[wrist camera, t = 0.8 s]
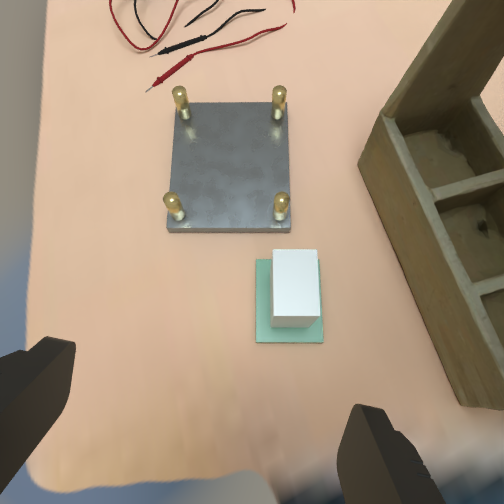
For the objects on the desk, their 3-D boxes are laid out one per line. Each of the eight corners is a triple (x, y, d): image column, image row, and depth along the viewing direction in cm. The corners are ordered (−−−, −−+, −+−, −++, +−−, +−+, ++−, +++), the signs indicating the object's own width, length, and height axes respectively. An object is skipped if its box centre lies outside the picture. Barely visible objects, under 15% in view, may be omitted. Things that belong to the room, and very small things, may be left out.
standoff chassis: (286, 110, 50) (289, 79, 45) (289, 232, 45) (293, 213, 40) (178, 110, 50) (169, 79, 45) (169, 232, 45) (158, 213, 40)
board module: (317, 262, 44) (332, 233, 36) (321, 343, 41) (339, 333, 33) (256, 262, 44) (256, 234, 36) (256, 342, 41) (256, 333, 33)
